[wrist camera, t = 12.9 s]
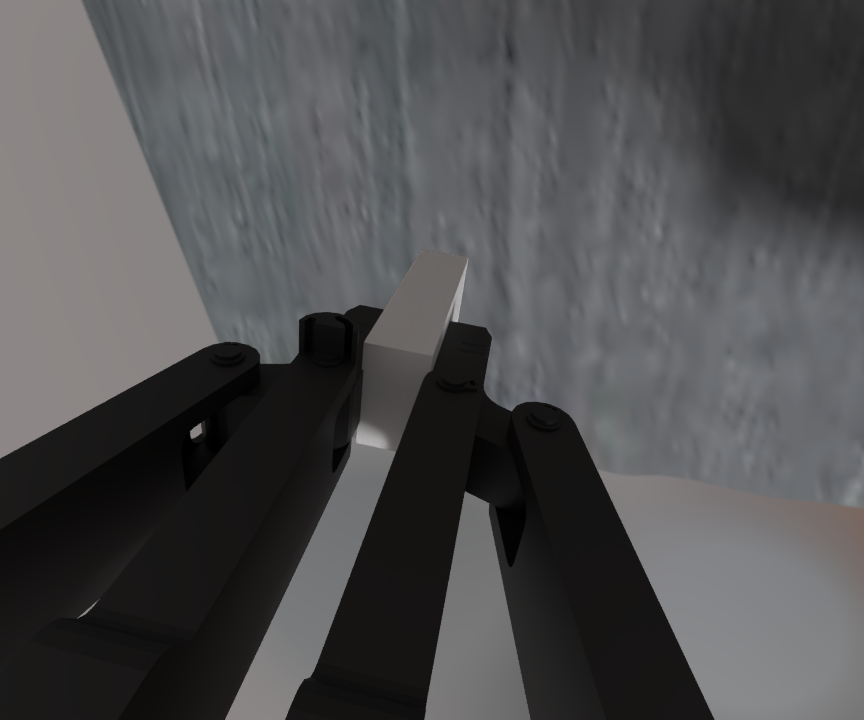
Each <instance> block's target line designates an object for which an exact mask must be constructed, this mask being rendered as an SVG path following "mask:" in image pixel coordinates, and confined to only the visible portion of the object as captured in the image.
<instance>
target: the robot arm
mask: <svg viewBox="0 0 864 720" xmlns="http://www.w3.org/2000/svg"><path fill="white" fill-rule="evenodd" d="M468 258H469V257H463V256H458V255H452V254H447V253H441V252H436V251H430V250H425V249H421V251H420V253H419V254H418V256H417V258H416V259H415V261H414V262H413V264H412V266H411V267H410V269H409V270H408V272H407V274H406V275H405V277H404V278H403V280H402V282H401V283H400V285H399V286H398V288H397V290H396V291H395V293H394V295H393V296H392V298H391V299H390V301H389V303H388V304H387V306H386V307H385V309H379V308H373V307H368V306H363V305H359V306H357V307H355V308H353V309H350V310H348V311H347V312H346V313H345V314H344V315H342V314H339V313H330V312H321V313H313V314H310V315H306V316H304V317H303V318H301V319H300V320H299V354H298V355H297V356H296V357H295V359H294V360H293V361H292V362H291V363H290V364H260V354H259V353H258V351H257V350H256V349H255V348H253V347H251V346H249V345H246V344H241V343H237V342H232V343H231V342H224V343H219V344H214V345H211V346H208V347H206V348H203V349H201V350H199V351H198V352H196V353H194V354H192V355H190V356H188V357H187V358H185V359H183V360H181V361H179V362H177V363H176V364H174V365H172V366H170V367H168V368H167V369H164V370H163V371H161V372H159V373H157V374H155V375H153V376H152V377H150V378H148V379H146V380H144V381H143V382H141V383H139V384H137V385H135V386H133V387H131V388H129V389H128V390H126V391H124V392H122V393H120V394H118V395H117V396H115V397H113V398H111V399H109V400H108V401H106V402H104V403H102V404H100V405H98V406H96V407H94V408H93V409H91V410H89V411H87V412H85V413H83V414H82V415H80V416H78V417H76V418H74V419H72V420H71V421H69V422H67V423H65V424H63V425H61V426H60V427H58V428H56V429H54V430H52V431H50V432H48V433H47V434H45V435H43V436H41V437H39V438H38V439H36V440H34V441H32V442H30V443H29V444H26V445H25V446H23V447H21V448H19V449H17V450H15V451H14V452H12V453H10V454H8V455H6V456H4V457H2V458H1V459H0V720H225V718H226V716H227V714H228V712H229V710H230V708H231V705H232V703H233V701H234V699H235V697H236V695H237V693H238V691H239V689H240V687H241V685H242V682H243V680H244V678H245V676H246V674H247V672H248V670H249V667H250V665H251V663H252V661H253V659H254V657H255V655H256V653H257V651H258V649H259V647H260V645H261V642H262V640H263V638H264V636H265V634H266V632H267V630H268V628H269V626H270V623H271V621H272V619H273V617H274V615H275V613H276V611H277V609H278V607H279V604H280V602H281V600H282V598H283V596H284V594H285V592H286V589H287V588H288V586H289V583H290V581H291V579H292V577H293V575H294V573H295V571H296V569H297V566H298V564H299V562H300V560H301V558H302V556H303V554H304V552H305V550H306V548H307V546H308V543H309V541H310V539H311V537H312V535H313V533H314V531H315V529H316V527H317V524H318V522H319V520H320V518H321V516H322V514H323V512H324V510H325V507H326V505H327V503H328V501H329V499H330V497H331V495H332V493H333V491H334V489H335V487H336V484H337V482H338V480H339V478H340V476H341V474H342V472H343V470H344V468H345V465H346V463H347V461H348V459H349V457H350V452H351V440H352V436H353V434H354V432H355V430H356V428H357V440H356V443H359V444H364V445H368V446H373V447H378V448H382V449H387V450H392V451H396V454H395V457H394V459H393V462H392V465H391V467H390V470H389V472H388V475H387V478H386V481H385V484H384V486H383V489H382V491H381V494H380V497H379V499H378V502H377V505H376V507H375V510H374V513H373V515H372V518H371V521H370V524H369V526H368V529H367V532H366V534H365V537H364V540H363V542H362V545H361V548H360V550H359V553H358V556H357V558H356V561H355V564H354V566H353V569H352V572H351V574H350V577H349V580H348V583H347V585H346V588H345V590H344V593H343V596H342V598H341V602H340V604H339V607H338V609H337V612H336V615H335V617H334V620H333V623H332V625H331V628H330V631H329V634H328V636H327V639H326V641H325V644H324V647H323V650H322V652H321V655H320V658H319V660H318V663H317V665H316V667H315V670H314V672H313V674H312V675H311V677H310V678H307V679H304V681H303V682H302V684H301V685H300V687H299V689H298V691H297V693H296V695H295V697H294V700H293V702H292V704H291V706H290V709H289V711H288V714H287V717H286V719H285V720H424V718H425V712H426V703H427V696H428V691H429V685H430V680H431V674H432V669H433V663H434V658H435V652H436V647H437V641H438V636H439V630H440V625H441V619H442V614H443V608H444V603H445V597H446V592H447V586H448V581H449V575H450V570H451V564H452V559H453V553H454V548H455V542H456V536H457V531H458V526H459V520H460V515H461V509H462V504H463V498H464V493H465V491H466V492H468V493H470V494H472V495H474V496H476V497H478V498H480V499H482V500H484V501H486V502H488V503H489V516H490V521H491V526H492V531H493V536H494V541H495V546H496V551H497V556H498V561H499V565H500V570H501V575H502V580H503V585H504V590H505V595H506V600H507V605H508V610H509V615H510V619H511V624H512V630H513V634H514V640H515V645H516V649H517V654H518V659H519V664H520V669H521V674H522V679H523V684H524V689H525V694H526V699H527V704H528V709H529V713H530V719H531V720H714V718H713V716H712V713H711V711H710V709H709V707H708V705H707V703H706V701H705V699H704V696H703V694H702V692H701V690H700V688H699V686H698V684H697V682H696V680H695V677H694V675H693V673H692V671H691V669H690V667H689V665H688V662H687V660H686V658H685V656H684V654H683V652H682V650H681V648H680V645H679V643H678V641H677V639H676V637H675V635H674V633H673V631H672V628H671V626H670V624H669V622H668V620H667V618H666V616H665V613H664V611H663V609H662V607H661V605H660V603H659V601H658V599H657V596H656V595H655V592H654V590H653V588H652V586H651V584H650V582H649V579H648V577H647V575H646V573H645V571H644V569H643V567H642V565H641V562H640V560H639V558H638V556H637V554H636V552H635V550H634V548H633V546H632V543H631V541H630V539H629V537H628V535H627V533H626V530H625V528H624V526H623V524H622V522H621V520H620V518H619V516H618V513H617V512H616V509H615V507H614V505H613V503H612V501H611V499H610V496H609V494H608V492H607V490H606V488H605V486H604V484H603V482H602V479H601V477H600V475H599V473H598V471H597V469H596V467H595V465H594V462H593V460H592V458H591V456H590V454H589V452H588V450H587V447H586V445H585V443H584V441H583V439H582V437H581V435H580V433H579V430H578V428H577V426H576V424H575V422H574V421H573V420H572V418H571V417H570V416H569V415H568V414H567V413H565V412H564V411H563V410H561V409H560V408H557V407H555V406H552V405H550V404H547V403H540V402H525V403H522V404H520V405H517V406H516V407H515V408H514V409H513V411H510V410H507V409H505V408H503V407H501V406H499V405H497V404H496V403H494V402H493V401H492V400H490V398H489V397H488V396H487V395H486V393H485V391H484V379H485V374H486V368H487V363H488V357H489V351H490V346H491V340H492V337H491V335H490V334H489V332H488V330H487V329H486V328H484V327H479V326H474V325H469V324H464V323H458V317H459V311H460V305H461V299H462V293H463V288H464V282H465V276H466V270H467V264H468ZM200 423H201V427H202V433H201V434H200V435H199V436H197V437H196V438H193V439H191V437H190V431H191V430H192V429H193V428H194V427H195V426H197V425H198V424H200ZM357 426H358V427H357ZM96 601H98V602H97V603H96V604H95V605H94V607H93V608H92V609H91V610H90V611H89V612H88V613H87V614H85V615H83V616H82V617H80V618H78V617H79V616H80V615H81V614H83V613H84V612H85V611H86V610H87V609H88V608H90V607H91V606H92V605H93V604H94V603H95V602H96ZM77 618H78V619H77Z"/></svg>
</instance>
